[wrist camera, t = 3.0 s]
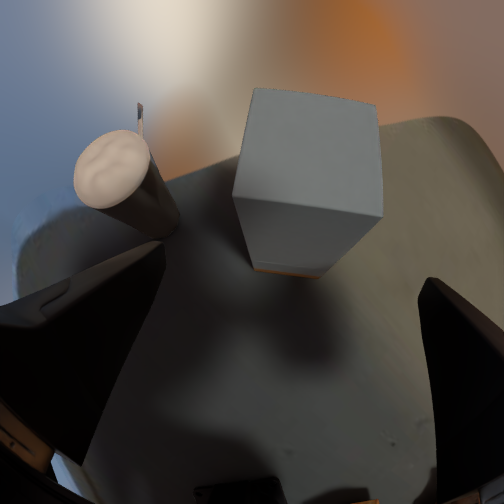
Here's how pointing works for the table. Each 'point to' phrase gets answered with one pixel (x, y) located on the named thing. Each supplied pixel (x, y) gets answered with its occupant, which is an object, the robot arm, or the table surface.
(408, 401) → the table surface
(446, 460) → the robot arm
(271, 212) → the grey stepped block
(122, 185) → the milkshake
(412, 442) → the table surface
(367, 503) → the pyrite
